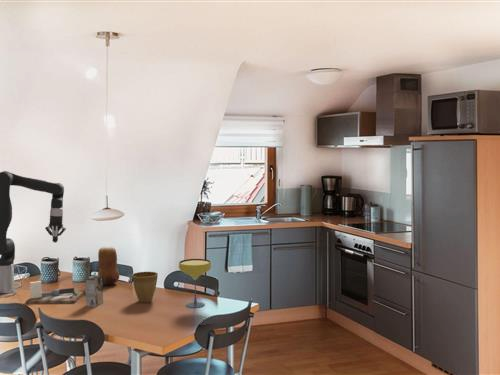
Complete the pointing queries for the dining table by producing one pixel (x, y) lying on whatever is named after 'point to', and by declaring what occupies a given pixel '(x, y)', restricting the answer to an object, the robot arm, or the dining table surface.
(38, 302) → the board
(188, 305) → the cocktail glass
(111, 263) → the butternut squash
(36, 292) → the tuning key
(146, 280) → the plant pot
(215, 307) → the dining table surface
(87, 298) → the coffee box
